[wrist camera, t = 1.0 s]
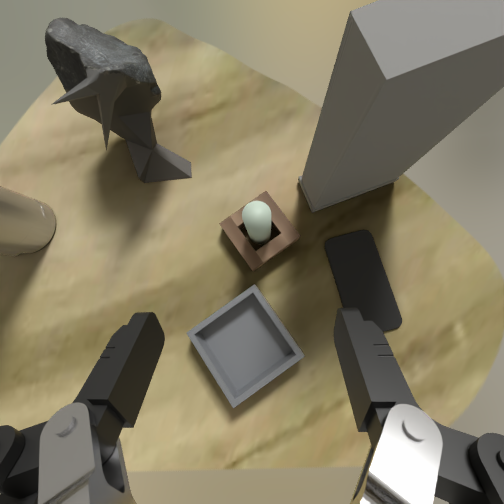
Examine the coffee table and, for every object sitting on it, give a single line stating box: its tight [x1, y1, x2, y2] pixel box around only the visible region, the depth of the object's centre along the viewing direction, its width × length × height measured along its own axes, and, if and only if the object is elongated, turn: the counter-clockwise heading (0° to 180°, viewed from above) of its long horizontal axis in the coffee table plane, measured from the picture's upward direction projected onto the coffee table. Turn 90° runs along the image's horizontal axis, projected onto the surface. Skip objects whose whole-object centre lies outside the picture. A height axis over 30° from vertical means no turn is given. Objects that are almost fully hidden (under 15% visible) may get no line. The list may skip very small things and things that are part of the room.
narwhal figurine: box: [45, 18, 192, 183], centre depth 34 cm, size 14×15×18 cm
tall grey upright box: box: [298, 0, 504, 212], centre depth 27 cm, size 14×6×25 cm, turn 110°
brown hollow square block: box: [219, 191, 300, 272], centre depth 38 cm, size 9×9×2 cm
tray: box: [187, 284, 305, 408], centre depth 35 cm, size 12×12×4 cm
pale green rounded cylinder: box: [242, 201, 271, 244], centre depth 34 cm, size 4×4×10 cm
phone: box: [325, 230, 402, 332], centre depth 37 cm, size 7×1×15 cm
